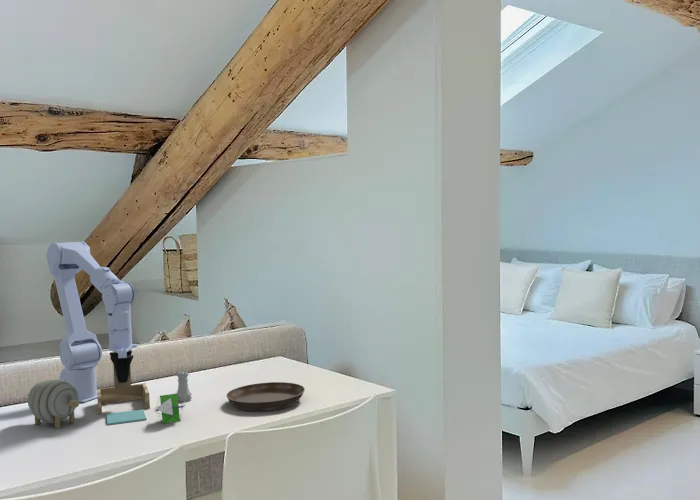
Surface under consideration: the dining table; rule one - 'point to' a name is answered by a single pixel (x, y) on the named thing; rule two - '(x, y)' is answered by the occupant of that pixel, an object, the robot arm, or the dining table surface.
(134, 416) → the teal mat
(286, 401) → the plant saucer
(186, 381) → the rook chess piece
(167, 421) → the geometric puzzle
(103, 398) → the oak open-side box
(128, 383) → the walnut block
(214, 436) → the dining table surface
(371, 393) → the dining table surface
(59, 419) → the toy sheep
